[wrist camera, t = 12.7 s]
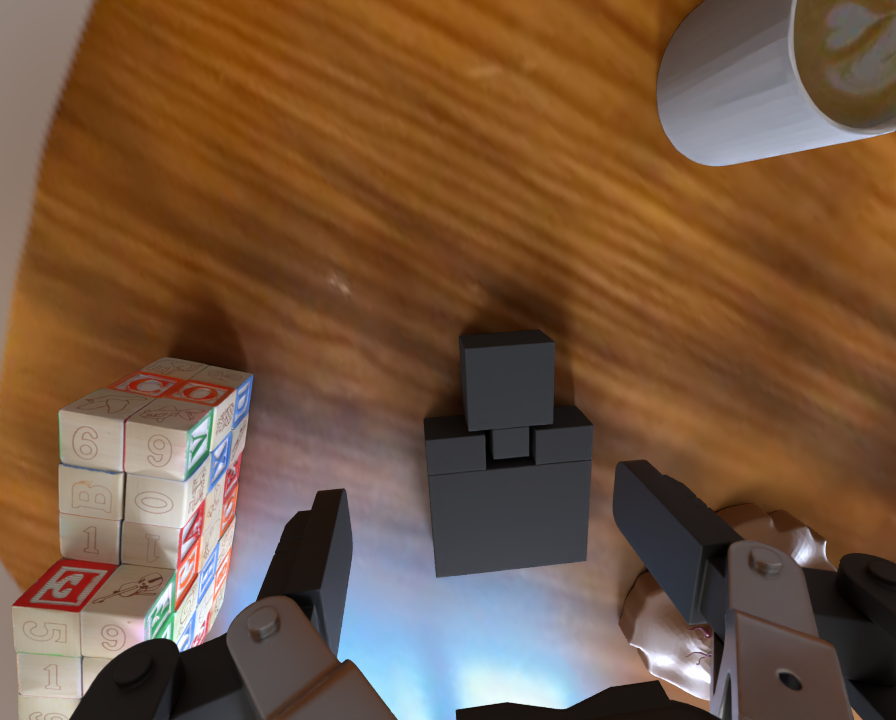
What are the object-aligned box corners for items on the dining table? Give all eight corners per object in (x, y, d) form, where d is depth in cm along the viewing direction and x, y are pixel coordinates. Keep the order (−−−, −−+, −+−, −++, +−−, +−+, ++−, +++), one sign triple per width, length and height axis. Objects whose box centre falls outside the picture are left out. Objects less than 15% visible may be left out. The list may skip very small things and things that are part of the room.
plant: (704, 702, 45) (795, 849, 35) (588, 614, 40) (653, 754, 29) (862, 586, 42) (1016, 707, 31) (758, 473, 37) (901, 573, 26)
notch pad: (433, 546, 36) (436, 578, 33) (423, 418, 33) (424, 440, 29) (570, 531, 37) (586, 561, 34) (575, 405, 33) (593, 424, 30)
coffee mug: (627, 122, 28) (742, 66, 18) (714, -47, 25) (898, -212, 16) (781, 213, 30) (952, 207, 21) (872, 69, 28) (1112, -13, 18)
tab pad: (463, 438, 33) (469, 461, 30) (458, 335, 31) (464, 348, 28) (538, 431, 34) (552, 454, 30) (539, 329, 31) (555, 341, 28)
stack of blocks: (162, 353, 29) (-1, 436, 18) (256, 371, 30) (159, 462, 19) (146, 594, 35) (14, 777, 23) (225, 603, 36) (136, 783, 24)
